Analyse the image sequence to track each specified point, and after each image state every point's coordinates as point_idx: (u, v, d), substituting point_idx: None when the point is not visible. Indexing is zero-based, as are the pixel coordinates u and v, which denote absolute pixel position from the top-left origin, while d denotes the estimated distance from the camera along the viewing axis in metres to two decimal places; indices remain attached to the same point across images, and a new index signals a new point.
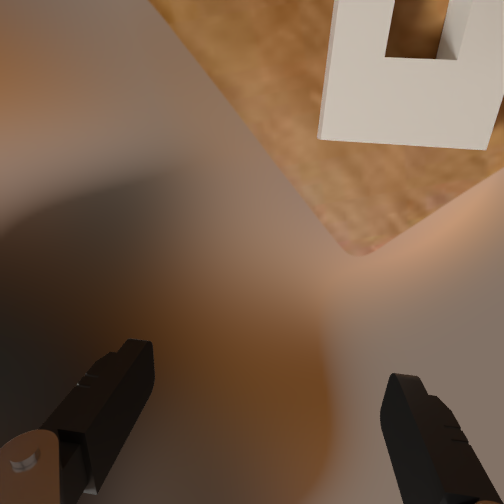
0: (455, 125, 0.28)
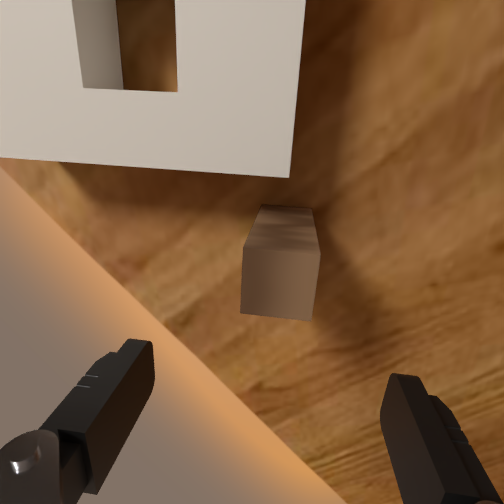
0: (11, 106, 0.20)
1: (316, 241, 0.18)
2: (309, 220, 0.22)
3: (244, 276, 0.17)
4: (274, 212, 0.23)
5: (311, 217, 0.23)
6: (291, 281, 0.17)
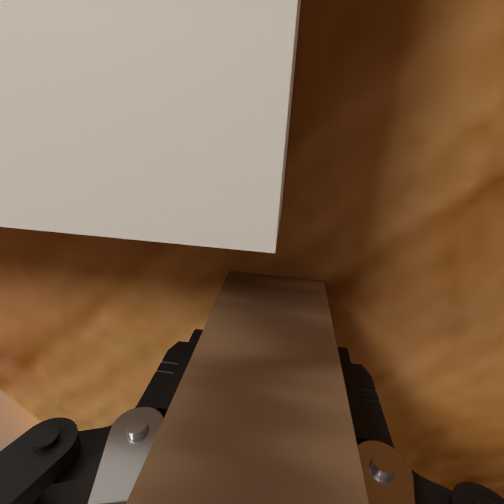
0: None
1: (358, 477, 0.06)
2: (325, 334, 0.10)
3: None
4: (249, 301, 0.11)
5: (327, 318, 0.11)
6: None
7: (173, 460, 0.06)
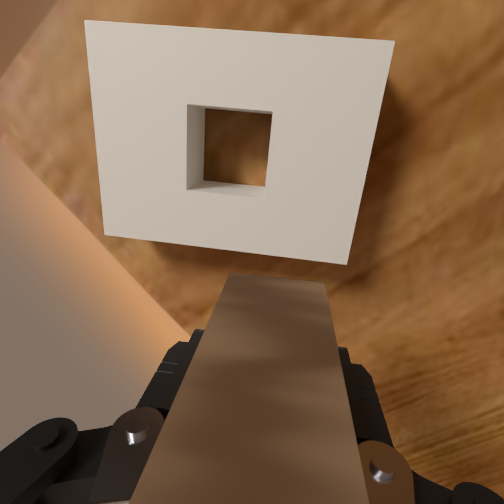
0: (123, 199, 0.25)
1: (359, 479, 0.06)
2: (325, 335, 0.10)
3: None
4: (250, 302, 0.11)
5: (328, 320, 0.11)
6: None
7: (175, 462, 0.06)
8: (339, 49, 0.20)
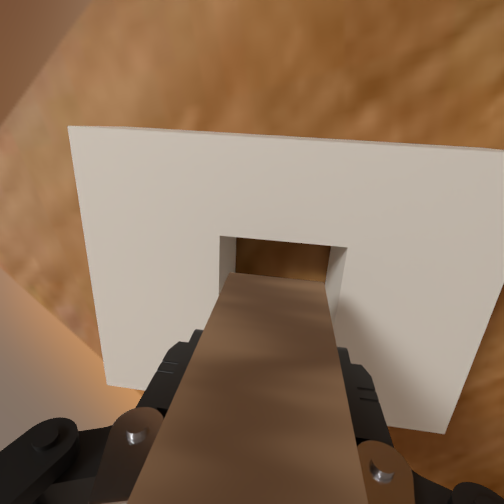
0: (131, 346, 0.18)
1: (358, 478, 0.06)
2: (325, 335, 0.10)
3: None
4: (249, 301, 0.11)
5: (327, 319, 0.11)
6: None
7: (173, 461, 0.06)
8: (459, 166, 0.13)
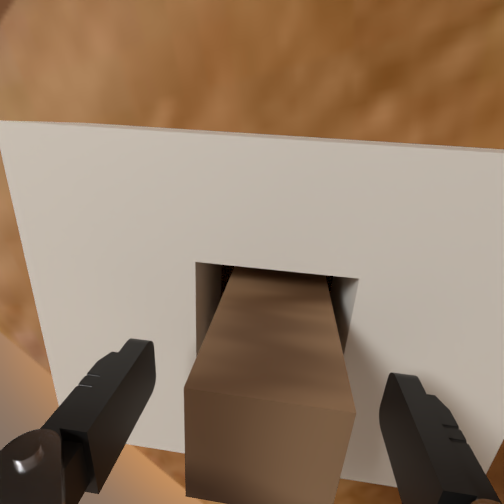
0: None
1: (339, 353, 0.09)
2: (320, 283, 0.13)
3: (190, 439, 0.08)
4: None
5: (322, 275, 0.14)
6: (290, 454, 0.08)
7: (220, 343, 0.09)
8: None
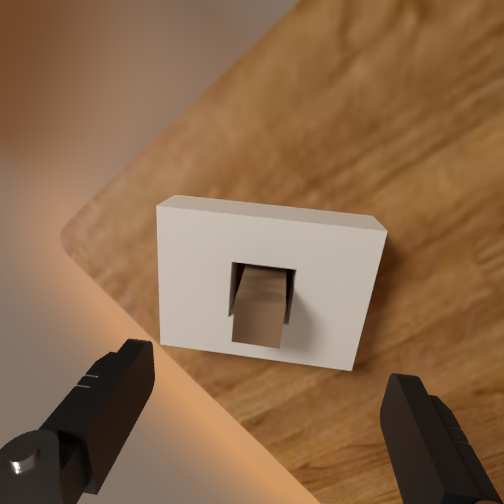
0: (178, 320, 0.32)
1: (284, 294, 0.26)
2: (283, 272, 0.30)
3: (235, 318, 0.25)
4: None
5: (284, 268, 0.31)
6: (266, 322, 0.25)
7: (244, 290, 0.26)
8: (346, 234, 0.27)
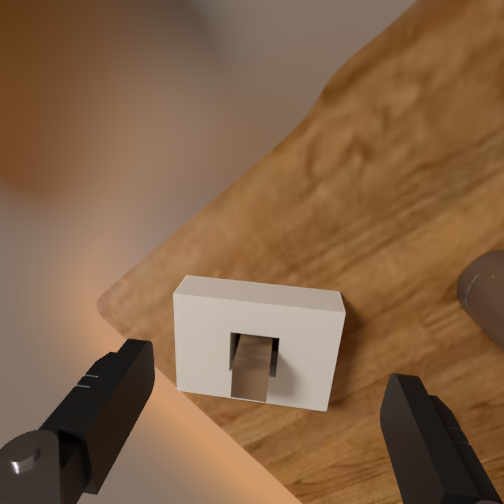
0: (190, 373, 0.41)
1: (269, 360, 0.35)
2: (270, 337, 0.39)
3: (232, 381, 0.34)
4: None
5: None
6: (255, 384, 0.34)
7: (239, 358, 0.35)
8: (315, 314, 0.36)
